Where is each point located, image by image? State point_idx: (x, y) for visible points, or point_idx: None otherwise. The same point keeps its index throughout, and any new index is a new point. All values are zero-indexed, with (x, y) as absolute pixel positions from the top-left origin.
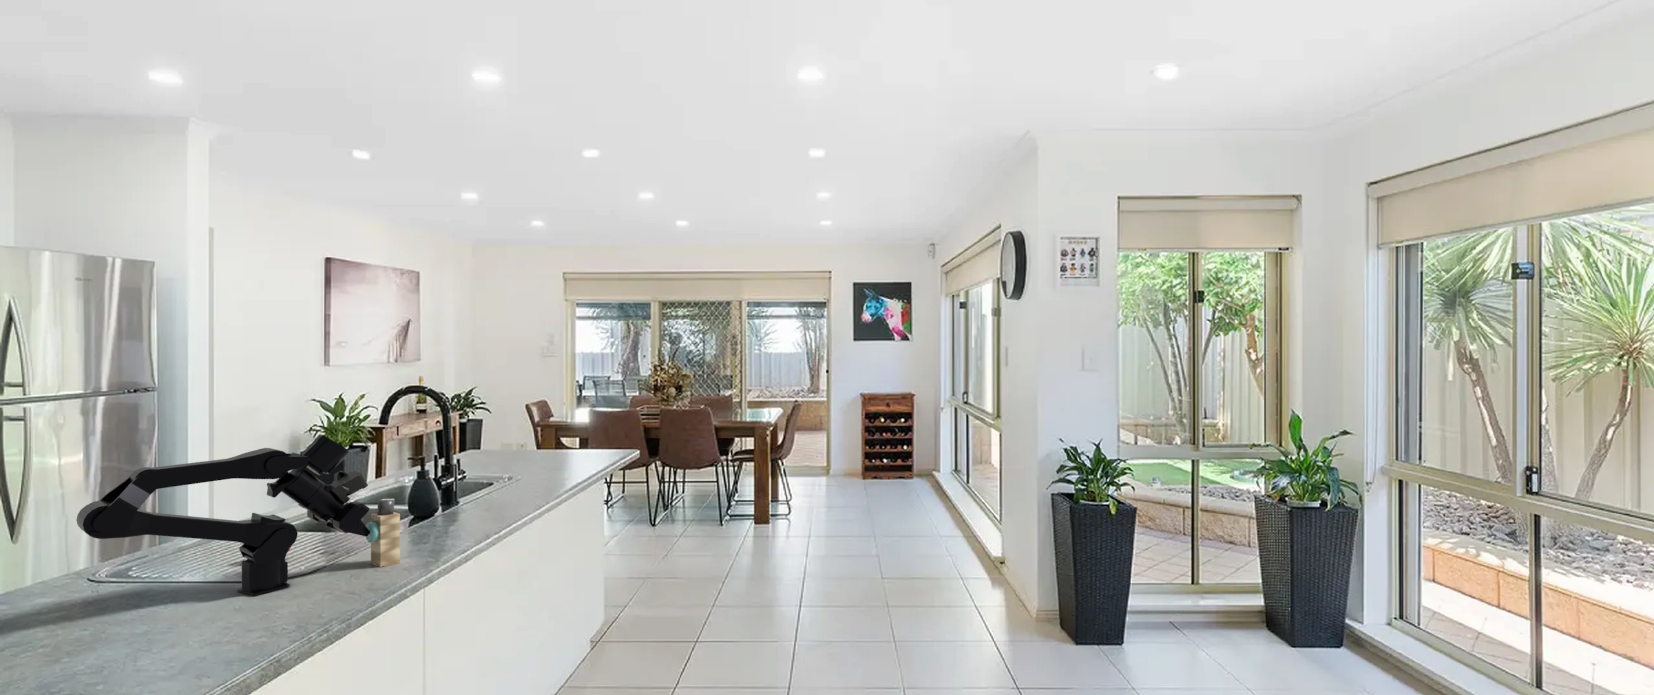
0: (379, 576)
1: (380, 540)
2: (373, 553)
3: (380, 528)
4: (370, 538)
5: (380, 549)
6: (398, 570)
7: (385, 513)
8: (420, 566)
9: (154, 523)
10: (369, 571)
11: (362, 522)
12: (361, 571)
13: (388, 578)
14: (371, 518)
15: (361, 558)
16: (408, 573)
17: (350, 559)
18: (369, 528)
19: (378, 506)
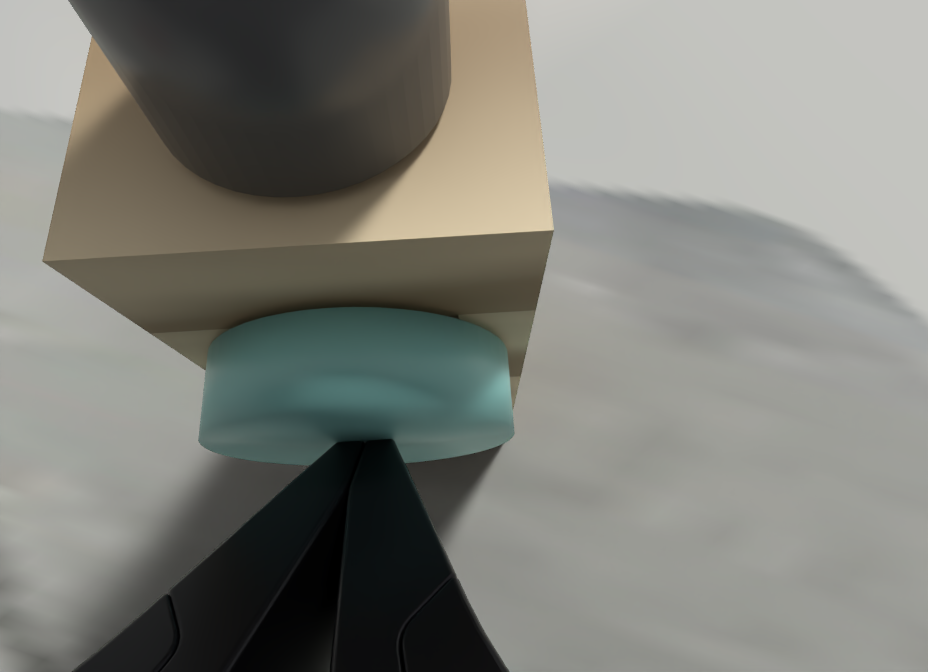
0: (776, 536)
1: (517, 378)
2: None
3: (529, 323)
4: (413, 452)
5: (512, 404)
6: (694, 378)
7: (442, 89)
8: (693, 244)
9: None
10: (560, 540)
11: (461, 586)
12: (509, 587)
13: (885, 507)
14: (129, 298)
15: (106, 449)
16: (832, 358)
17: (53, 520)
18: (358, 428)
19: (241, 39)
